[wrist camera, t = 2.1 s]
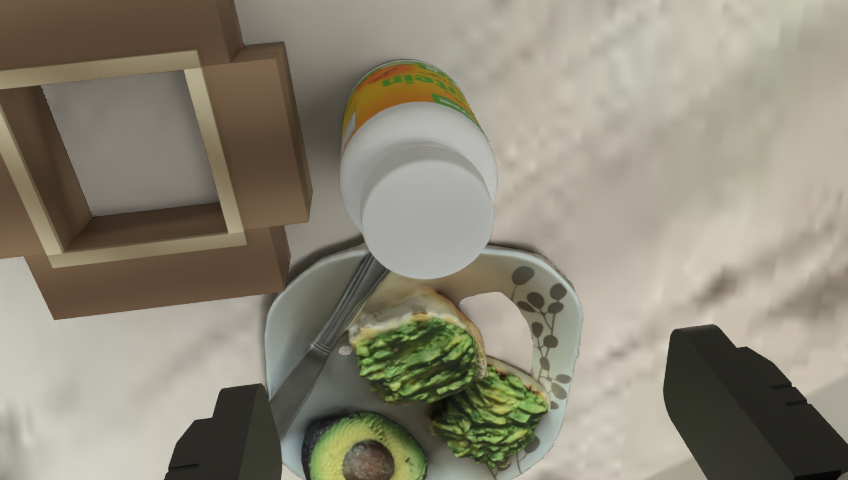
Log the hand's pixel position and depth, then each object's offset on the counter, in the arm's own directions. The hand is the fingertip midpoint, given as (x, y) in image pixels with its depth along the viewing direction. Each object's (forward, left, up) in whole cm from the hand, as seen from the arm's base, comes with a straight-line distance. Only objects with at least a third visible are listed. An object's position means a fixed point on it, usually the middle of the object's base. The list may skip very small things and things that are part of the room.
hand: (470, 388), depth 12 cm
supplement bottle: (0, 0, -17) cm, 17 cm away
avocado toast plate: (+14, -1, -17) cm, 22 cm away
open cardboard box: (-1, -11, -17) cm, 20 cm away
